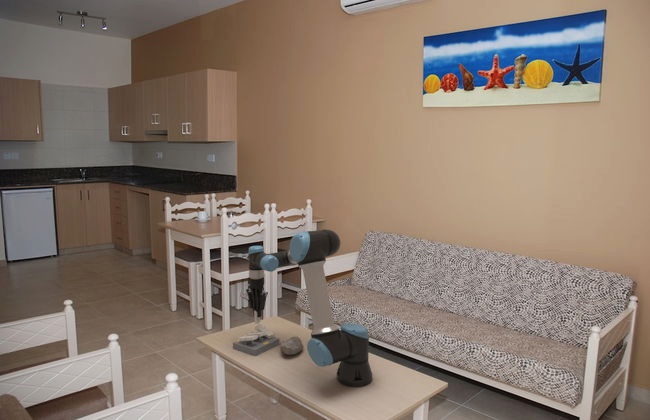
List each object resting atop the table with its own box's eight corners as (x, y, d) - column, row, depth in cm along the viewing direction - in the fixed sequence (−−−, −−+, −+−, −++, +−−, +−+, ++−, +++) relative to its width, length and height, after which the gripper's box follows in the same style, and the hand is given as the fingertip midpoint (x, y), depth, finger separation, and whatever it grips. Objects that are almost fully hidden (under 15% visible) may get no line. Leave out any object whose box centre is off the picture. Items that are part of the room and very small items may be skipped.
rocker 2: (266, 334, 240) (265, 331, 240) (261, 337, 237) (260, 333, 237) (252, 335, 246) (251, 332, 246) (246, 338, 243) (246, 334, 243)
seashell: (294, 334, 245) (279, 326, 233) (311, 345, 238) (297, 337, 227) (284, 351, 243) (268, 343, 231) (301, 363, 236) (286, 355, 224)
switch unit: (279, 344, 245) (279, 334, 244) (255, 356, 231) (255, 346, 230) (257, 337, 253) (257, 328, 253) (232, 348, 240) (232, 339, 239)
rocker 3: (273, 336, 245) (274, 333, 244) (268, 339, 242) (269, 336, 242) (259, 327, 250) (259, 324, 250) (254, 329, 247) (254, 326, 247)
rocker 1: (258, 338, 236) (257, 335, 236) (252, 341, 233) (252, 337, 233) (244, 339, 242) (243, 336, 242) (238, 341, 239) (237, 338, 239)
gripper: (271, 277, 244) (272, 323, 247) (252, 273, 251) (253, 317, 255) (261, 281, 238) (261, 327, 241) (241, 276, 245) (242, 322, 249)
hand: (257, 322), depth 248 cm, fingers closed
